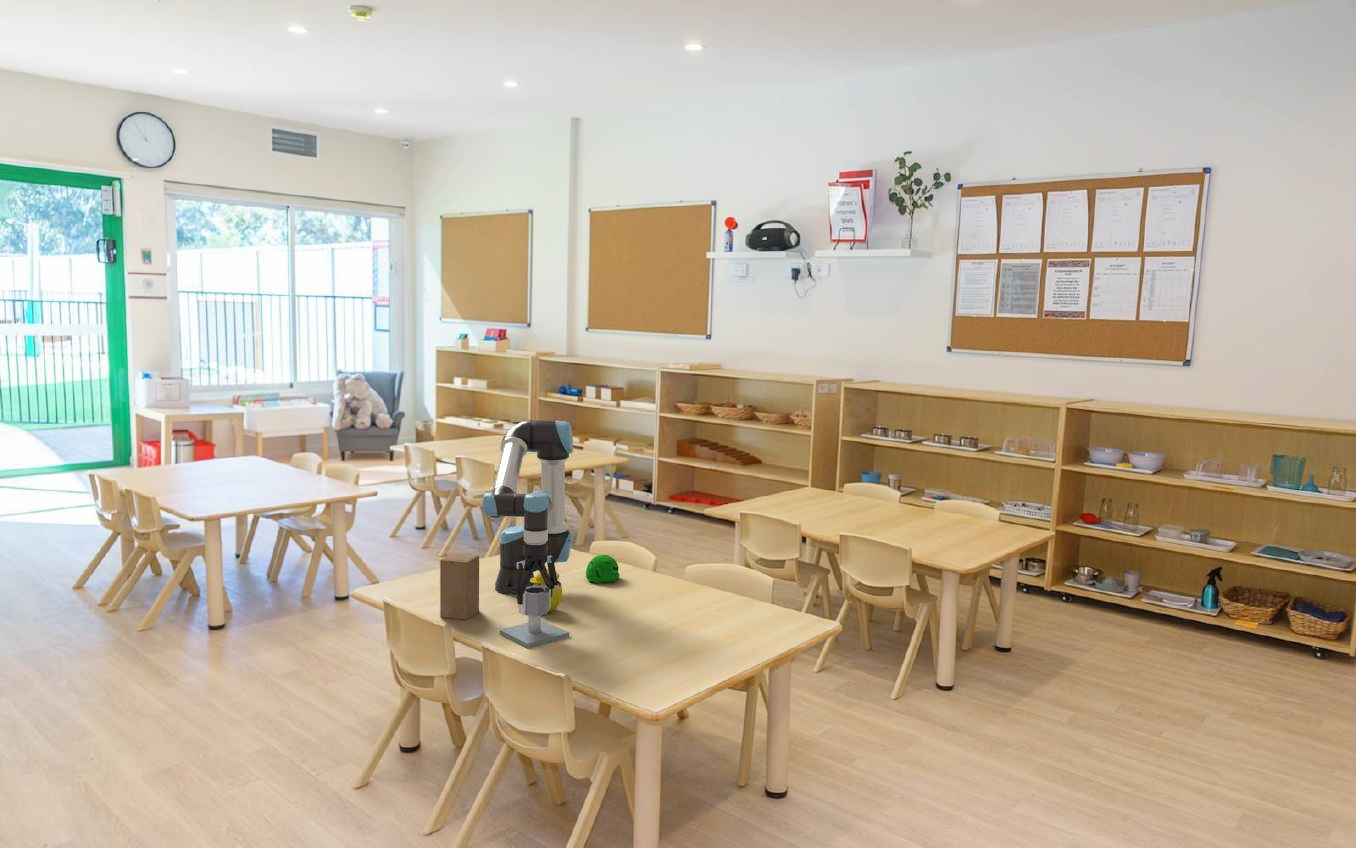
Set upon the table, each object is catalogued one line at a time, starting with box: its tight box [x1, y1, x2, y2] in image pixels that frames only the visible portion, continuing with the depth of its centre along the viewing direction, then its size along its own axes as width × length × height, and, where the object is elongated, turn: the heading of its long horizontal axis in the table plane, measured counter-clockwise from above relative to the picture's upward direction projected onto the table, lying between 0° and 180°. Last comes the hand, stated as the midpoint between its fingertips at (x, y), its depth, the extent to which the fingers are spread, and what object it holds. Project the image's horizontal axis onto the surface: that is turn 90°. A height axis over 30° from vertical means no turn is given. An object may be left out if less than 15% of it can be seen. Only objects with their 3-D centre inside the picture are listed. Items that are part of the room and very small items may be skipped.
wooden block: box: [439, 552, 480, 621], centre depth 311 cm, size 10×10×20 cm
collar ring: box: [524, 586, 550, 617], centre depth 292 cm, size 9×9×7 cm
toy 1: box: [530, 568, 563, 612], centre depth 317 cm, size 13×10×15 cm
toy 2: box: [585, 554, 621, 584], centre depth 356 cm, size 14×13×10 cm
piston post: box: [499, 615, 571, 649], centre depth 293 cm, size 16×16×10 cm
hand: (534, 610), depth 292 cm, fingers closed on collar ring, 9 cm apart
